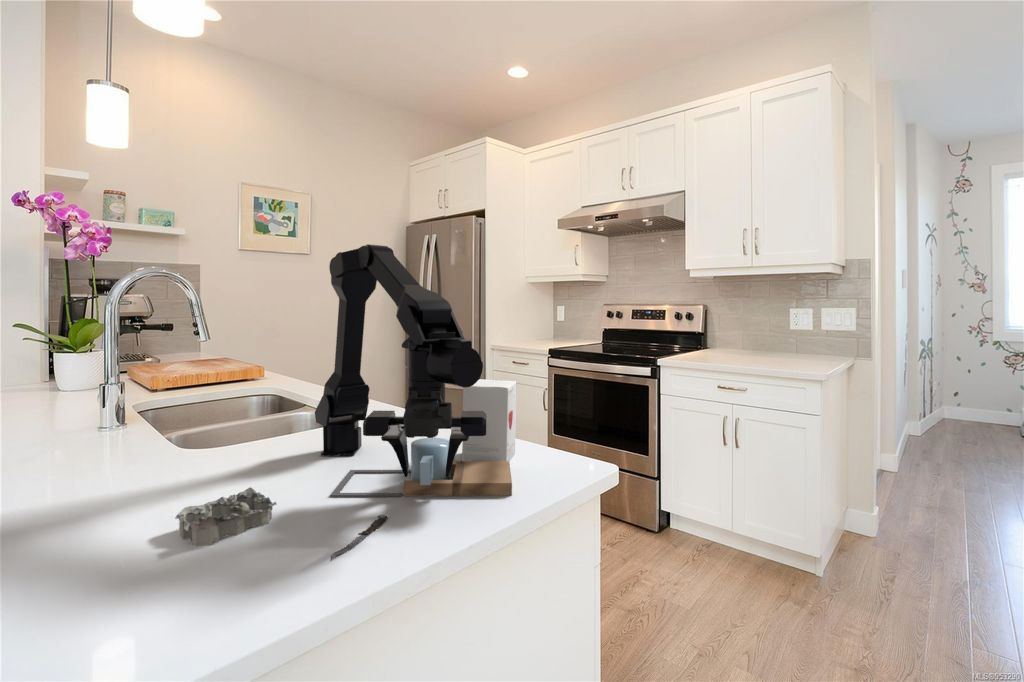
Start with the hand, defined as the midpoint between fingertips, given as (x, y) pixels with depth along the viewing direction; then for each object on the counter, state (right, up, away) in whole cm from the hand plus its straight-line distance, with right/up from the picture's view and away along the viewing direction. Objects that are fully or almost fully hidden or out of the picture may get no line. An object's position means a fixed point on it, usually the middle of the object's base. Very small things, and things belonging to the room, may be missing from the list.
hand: (426, 476), depth 82 cm
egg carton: (-25, -4, -12) cm, 28 cm away
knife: (-7, -5, -16) cm, 18 cm away
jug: (0, -3, +3) cm, 4 cm away
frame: (-9, -3, +5) cm, 11 cm away
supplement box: (+9, -2, +20) cm, 22 cm away
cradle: (+5, -3, +6) cm, 8 cm away
